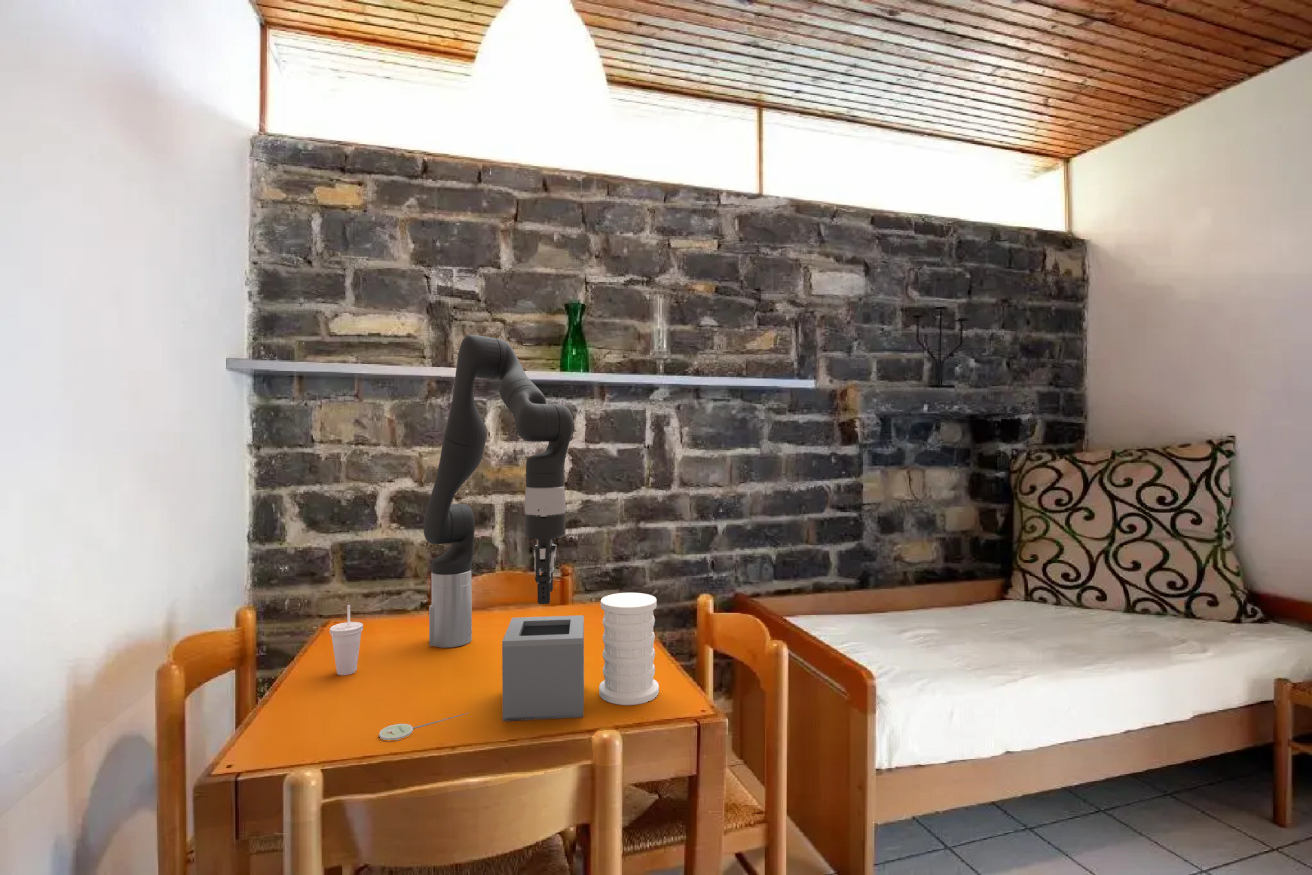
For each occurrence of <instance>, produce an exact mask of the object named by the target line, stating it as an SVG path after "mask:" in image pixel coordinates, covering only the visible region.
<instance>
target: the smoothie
mask: <svg viewBox="0 0 1312 875" xmlns="http://www.w3.org/2000/svg"><path fill="white" fill-rule="evenodd" d="M346 610H347V612H346V614H347V615H346V616H347V617H346V618H347V619H346V620H347V622H346V621H345V622H342V623H337V624H335V625H332V626H331V627H330V628H329V634H330V635H331V641H332V647H333V648H332V649H333V655H334V661H335V662H334V663H335V668H336V670H335V671H336V674H337V675H339V676H348V675H352V674H354V673H356V672H357V670H358V669H357V668H358V661H359V651H360V645H361V639H362V638H361V637H362V631H363V630H364V624H363V623H362V622H359V621H351V604H347V607H346ZM355 671H356V672H355Z"/></svg>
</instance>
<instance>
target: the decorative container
mask: <svg viewBox="0 0 1312 875" xmlns="http://www.w3.org/2000/svg"><path fill="white" fill-rule="evenodd" d="M657 603H658V602H657V598H656V597H655V596H654V595H652V594H648V593H641V592H619V593H612V594H609V595H605V596H603V597H602V598H601V600H600V609H601V610H603V612H604V613H603V614H604V616H603V618H602V625H603V626H602V627H603V628H604V631H603V634H602V642H603V644H604V646H603V647H604V648H603V650H602V658H603V660H604V661H603V662H604V663H603V664H604V665H603V668H602V673H603V677H604V680H603V681H601V682H600V683H599V687H598V691H599V692H598V695H599V696H600V698H601V699H602V700H603V701H605V702H607V703H610V704H614V705H619V706H620V705H622V706H634V705H636V706H637V705H641V704H645V703H649V702H650V701H653V700H654V699H656V698H657V697H658V696H657V695H659V694H658V693H659V692H660V691H659V690H660V686H659V685H660V684H659V682H658V681H657V680H655V679H654V676H655V671H656V667H655V664H654V659H655V656H656V651H655V648H654V642H655V640H656V639H655V638H656V635H655V632H654V626H655V622H656V619H655V616H654V610H655V609H656V608H657V605H658V604H657ZM655 697H656V698H655ZM648 701H649V702H648Z"/></svg>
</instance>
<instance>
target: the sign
mask: <svg viewBox="0 0 1312 875" xmlns="http://www.w3.org/2000/svg"><path fill="white" fill-rule="evenodd" d="M464 714H465V715H467V714H469V712H466V713H461V714H459V715H455V716H451V717H448V718H443V719H440V720H436V721H433V722H432V721H431V722H428V723H425V724H422V725H417V726H412V725H411V724H409V723H397V724H392V725H388V726H385V727H384V728H382V729H381V730H380V731H379V732H378V735H379V736H378V737H380V738H381V739H383V740H397V741H399V740H398V739H401V738H404V737H406V736H408V737H409V735H410V734H411V733H412V734H413V732H414V730H415V728H416V729H419V728H422V727H425V726H429V725H433V724H436V723H441V722H443V721H447V720H450V719H453V718H457V717H460V716H465V715H464ZM412 731H413V732H412ZM412 734H411V735H412ZM411 735H410V736H411ZM380 738H379V739H380ZM406 738H407V737H406ZM381 739H380V740H381ZM404 739H405V738H404ZM383 740H382V741H383ZM401 740H402V739H401Z"/></svg>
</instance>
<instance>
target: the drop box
mask: <svg viewBox="0 0 1312 875" xmlns="http://www.w3.org/2000/svg"><path fill="white" fill-rule="evenodd" d="M584 617H585V616H584V615H582V614H581V615H579V614H578V615H555V616H554V615H553V616H529V617H528V616H525V617H520V616H519V617H511V619H510V622H509V623H508V627H507V629H506V631H505V634H504V636H503V638H502V642H501V643H502V644H501V646H502V649H501V654H502V657H501V659H502V662H501V663H502V666H501V668H502V669H501V670H502V671H501V672H502V675H501V676H502V679H501V680H502V681H501V682H502V684H501V685H502V688H501V689H502V696H501V697H502V722H514V721H515V722H516V721H533V720H534V719H536V721H537V720H552V719H553V720H555V719H570V718H571V719H572V718H584V705H585V704H584V703H585V701H584V700H585V658H584V657H585V639H584V638H585V628H584V627H585V622H584V621H585V618H584ZM546 634H547V635H546Z"/></svg>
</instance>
